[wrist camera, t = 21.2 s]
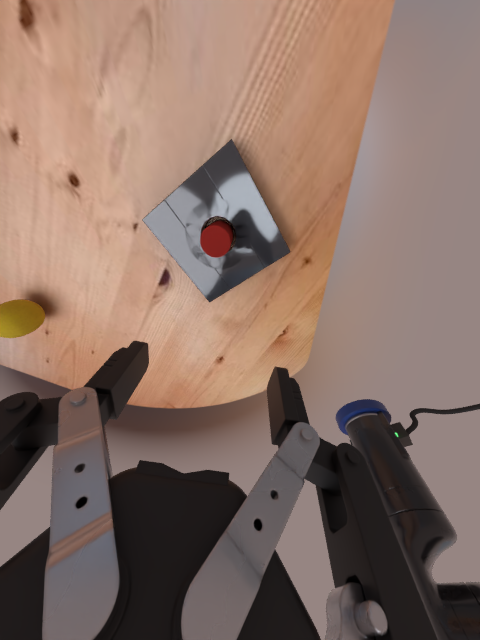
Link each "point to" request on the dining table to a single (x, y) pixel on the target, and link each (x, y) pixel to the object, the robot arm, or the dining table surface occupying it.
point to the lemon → (20, 318)
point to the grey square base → (223, 201)
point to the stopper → (217, 238)
